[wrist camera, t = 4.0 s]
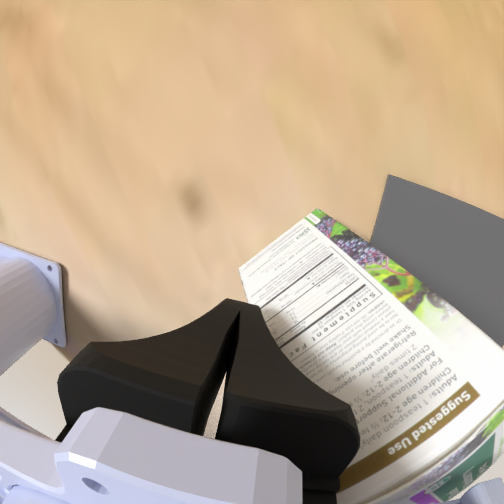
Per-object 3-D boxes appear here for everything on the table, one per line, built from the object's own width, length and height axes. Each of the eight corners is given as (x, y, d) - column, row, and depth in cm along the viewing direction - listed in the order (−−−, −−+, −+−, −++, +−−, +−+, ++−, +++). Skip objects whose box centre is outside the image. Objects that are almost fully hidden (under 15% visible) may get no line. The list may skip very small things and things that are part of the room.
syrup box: (359, 276, 19) (522, 439, 6) (286, 331, 20) (384, 539, 6) (315, 205, 17) (543, 365, 4) (231, 269, 18) (312, 536, 4)
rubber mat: (324, 367, 21) (325, 369, 21) (388, 174, 17) (389, 174, 17) (479, 382, 21) (480, 384, 21) (542, 238, 17) (544, 239, 17)
